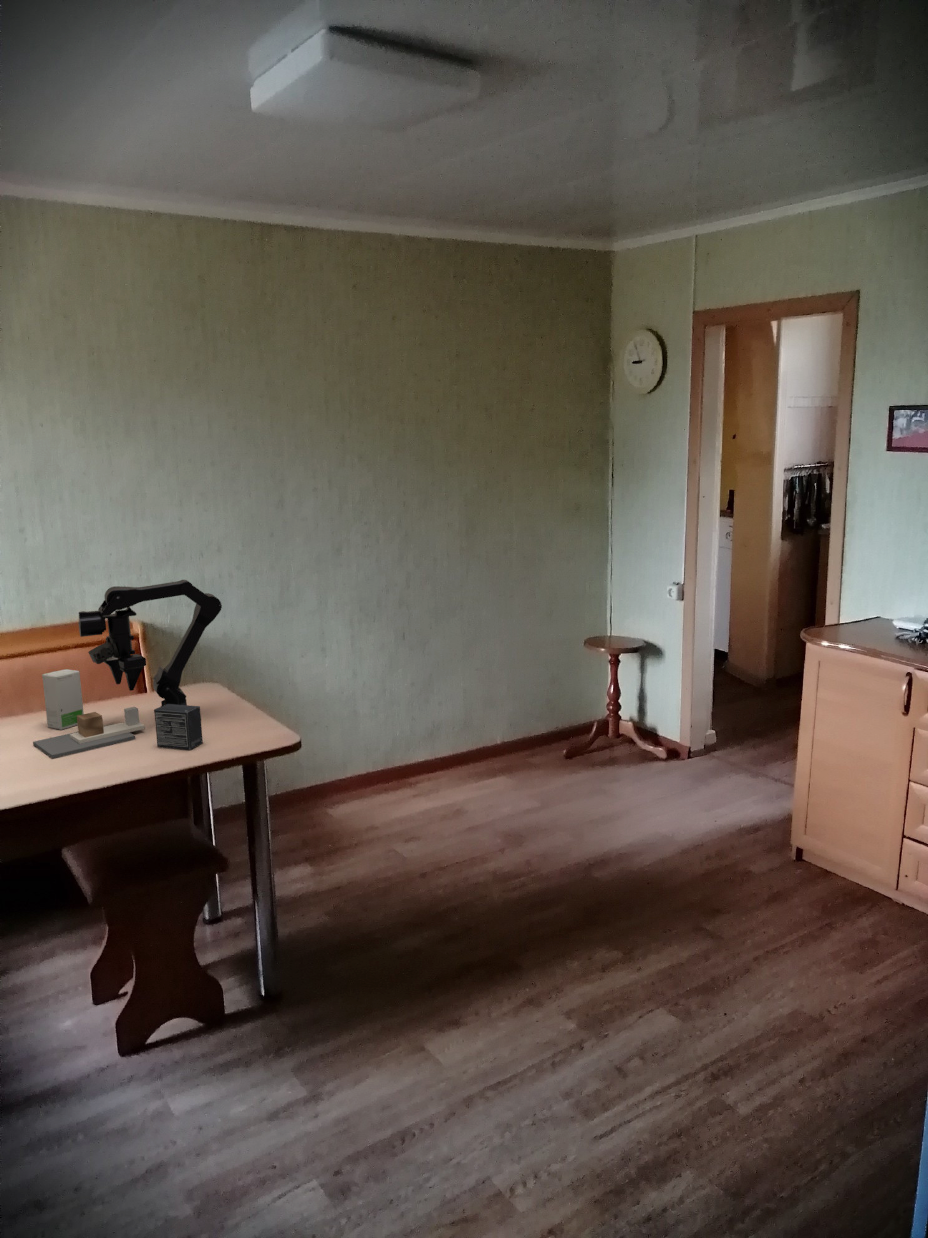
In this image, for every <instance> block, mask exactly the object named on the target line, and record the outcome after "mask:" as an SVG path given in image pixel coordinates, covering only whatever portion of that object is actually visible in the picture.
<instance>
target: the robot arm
mask: <svg viewBox="0 0 928 1238" xmlns="http://www.w3.org/2000/svg"><path fill="white" fill-rule="evenodd" d="M178 596H184V597H186V598H188V599H189V600H191V601H192V602H193V603H195V606H194V610H193V615H192V618H191V619H192V620H191V622H190V624H189V625H188V627H187V629H186V631H185V633H184V635H183V636H182V638H181V640H180V642H179V645H178V646H177V648H176V650H175V652H174V653H173V655H172V657H171V658H170V662H169V663H168V664H167V665H166V666H165V667H162V666H158V669H157V672H156V674H155V675H154V676H153V677H152V680H153V683H152V686H153V690H154V691H155V692H156V694H157V695H158V697H160V698H161V699H163V700H161V701H160V703H161V705H160V706H159V707H161V706H164V705H166V704H176V705H188V703H187V695H186V694H185V693H184V691H183V689H181V688H180V684H181V680H182V676H183V671H184V669H185V667H186V666H187V663H188V662H189V660H190V658H191V656H192V654H193V652H194V650H195V648H196V646H197V645H198V643H199V641H200V640H201V637H202V635H203V633H204V631H205V629H206V628H207V627H208V626H209V625H210V624H211V623H212V622H213V621H214V620H215V619H216V617H217V616H218V615H219V614H220V613H221V611H222V606H223V605H222V602H221V600H220V599H219V598H218V597H216V596H215V595H214V594H212V593H204V592H203V591H201V589H199V588H197V586H194V585H193V583H192V582H190V581H189V580H188V579H181V580H178V581H171V582H166V583H165V582H164V583H158V584H152V585H151V584H150V585H146V586H145V585H144V586H137V587H135V586H111V587H109V588H108V589H107V590H106V591H105V593H104V600H103V601H102V603H101V604H100V605H99V607H98V610H91V611H90V610H89V611H83V610H82V611H78V624H77V625H78V631H79V636H80V637H81V638H82V637H92V636H102V635H103V633H105V631H107V629H108V635H107V636H106V637H105V642H104V643H101V644H99V645H98V646H95V647H94V648H92V649H90V650H89V651H88V652H87V653H88V655H89V657H90V659H91V660H92V662H93V663H95V664H97V665H100V664H103V663H104V664H106V665H107V666H108V667H109V669H110V671H111V675H112V676H113V678H114V679H113V680H114V681H115V684H116V685H120V684H122V683H121V682H122V679H123V674H125V678H126V683H127V686H128V690H129V691H130V692H131V691H134V690H135V688H136V685H137V682H138V680H139V678H140V675H141V673H142V671H143V669H144V668H145V667H146V666H147V658H146V657H144V656H143V655H141V654H139V653H136V650H135V649H133V643H132V640H134V639H135V637H134V635H132V633H131V623H130V622H131V621H130V617H135V616H137V612H136V611H135V610H133V609H132V608H131V607H133V606H135V605H137V604H141V603H143V602H148V601H154V600H161V599H162V600H163V599H166V598H167V599H168V598H172V597H178ZM106 620H107V623H106Z"/></svg>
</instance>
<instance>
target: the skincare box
mask: <svg viewBox="0 0 928 1238" xmlns="http://www.w3.org/2000/svg"><path fill="white" fill-rule="evenodd" d="M41 676H42V677H41V678H42V685H43V686H42V687H43V694H44V702H45V703H44V704H45V705H44V706H45V713H46V714H45V715H46V723H47V725H46V726H47V728H49V729H51V728H52V729H54V730H60V731H62V730H65V729H68V728H73V727H75V726H78V723H77V716H78V715H82V714H85V713H84V703H83V694H82V693H83V692H82V685H81V674H80V671H79V670H74V669H68V668H66V669H61V670H57V671H56V670H55V671H51V672H47V673H42V674H41Z"/></svg>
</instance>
